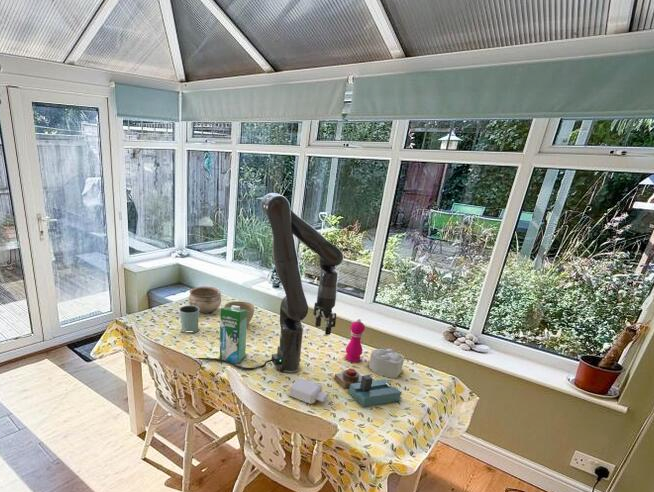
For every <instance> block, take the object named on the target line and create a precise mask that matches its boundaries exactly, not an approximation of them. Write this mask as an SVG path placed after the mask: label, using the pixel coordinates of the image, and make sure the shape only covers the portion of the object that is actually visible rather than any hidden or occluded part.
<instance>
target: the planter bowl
mask: <svg viewBox="0 0 654 492" xmlns="http://www.w3.org/2000/svg"><path fill="white" fill-rule="evenodd" d="M232 305H234V306H240V309H244V310H247V327H248V326H249V324H250V322H251V321H252V319H253V317H254V314H255V308H256V307H255V305H254V304H253V303H251V302H248V301H241V300H235V301H229V302H227V303H225V304H224V305H223V308H225V307H231V306H232Z"/></svg>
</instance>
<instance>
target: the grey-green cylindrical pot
mask: <svg viewBox="0 0 654 492" xmlns="http://www.w3.org/2000/svg"><path fill="white" fill-rule="evenodd" d="M178 311H179V317H180V323H181V331H182V332H183V333H185V334H195V333H197V332H198V331H199V322H200V321H199V316H200V312H199V308H198V307H197V306H190V305H184V306H181V307H180V308H179V310H178ZM182 329H183V330H184V331H183V330H182ZM197 329H198V330H197ZM186 331H193V332H186Z"/></svg>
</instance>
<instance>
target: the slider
mask: <svg viewBox="0 0 654 492" xmlns="http://www.w3.org/2000/svg"><path fill="white" fill-rule="evenodd" d="M361 376H362V379H361V385H360V387H361V391H362V392H366V391H369V390H371V385H372V381H373V377H372V376H371V375H370V374H365V375H361Z"/></svg>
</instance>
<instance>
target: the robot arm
mask: <svg viewBox="0 0 654 492" xmlns="http://www.w3.org/2000/svg"><path fill="white" fill-rule="evenodd" d="M260 210H261V212H262V214H263V215H264V216H265V217H266V218H267V219H268V221H269V225H270V228H271V232H272V260H273V263H274V264H273V265H274V269H275V271H276V274H277V278H278V279H279V282H280V284H281V286H282V288H283V290H284V293H285V296H284V297H283V298H282V299H281V301H280V305H279V306H280V307H279V326H280V336H279V346H277V350H276V353H272V354H271V358H270V359H269V360H266V361H265V362H264V363H263V364H261V365H259V366H256V367H246V366H240V365H238V364H237V363H233V362H230V361H226V360H222V359H220V358H216V357H196V358H195V359H199V360H198V361H200V360H201V361H202V360H203V361H218V362H223V363H227V364H230V365H232V366H234V367H236V368H238V369H240V370H241V369H242V370H256V369H259V368H264V367H266V365H267V364H268V363H273V365H274V366H276V367H277V368H278V370H280V372H281V373H288V374H292V373H296V372H298V371H299V370H300V365H301V362H302V359H301V354H302V345H303V335H304V334H303V333H304V326H303V323H302V321H304V320H305V319H306V317H307V315H308V314H309V305H308V302H307V298H306V294H305V291H304V288H303V282H302V276H301V269H300V263H299V256H298V251H297V246H296V241H295V238H296V239H297V240H298V241H300V242H301V243H302V244H303V245H304V246H305V247H306V248H308V250H310V251H311V252H313V253H314V254H316V255H318V256H319V258H318V259H319V261H318V262H319V271H320V275H319V284H318V288H317V296H316V302H314V307H313V313H312V314H313V316H314V318H315V323H314V326H315V327H316V328H318V327H321V324H322V319H323V322H324V323H325V331H324V335H325V336H330V335H331V333H332V328H335V327H336V323H337V313H336V312H333V309H334V307H335V306H336V301H337V295H338V294H337V293H338V280H339V272H338V270H337V269H336V267H337V266H340V265H341V264H342V263H343V261H344V258H345V257H344V256H345V255H344V253H343V251H342V250H341V249H340V248H339V247H338V246H336V245H335V244H333V243H332V242H331V241H329V240H328V239H327V238H326V237H325V236H324V235H323V234H321V233H320V232H319V231H318V229H316V228H314V226H313V225H311V224H309V223H308V222H307V221H305V220H304V219H303V218H302V217H300V216H299V215H297V213H295V211H293V210H292V209H291V205H290V202H289V200H288V198H286V197H285V196H284V195H282V194H281V193H277V192H270V193H267V194H265V195H264V196H263V197H262V199H261V201H260ZM294 237H295V238H294Z"/></svg>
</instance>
